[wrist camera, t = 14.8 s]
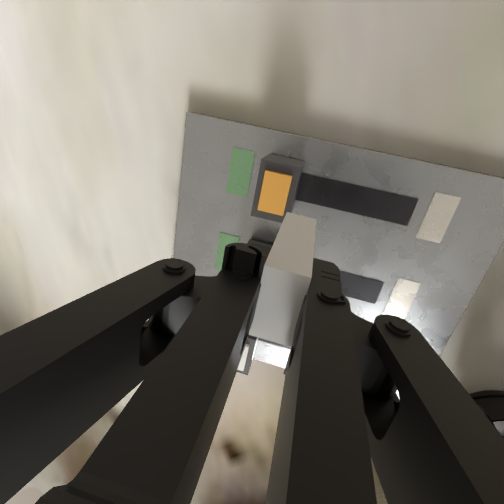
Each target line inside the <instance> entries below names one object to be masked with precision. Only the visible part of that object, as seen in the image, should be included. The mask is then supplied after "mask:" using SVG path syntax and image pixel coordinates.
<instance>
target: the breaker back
mask: <svg viewBox="0 0 504 504" xmlns="http://www.w3.org/2000/svg"><path fill="white" fill-rule="evenodd" d="M249 331H250V330H249ZM257 341H258V337H255V336H252V335H249V334H248V338H247V343H246V346H245V349H244V352H243V355H242V357H241V360H240V363H239V366H238V369H237V372H239V373H242V374H246V375H248V373H249V369H250V366H251V363H252V359H253V356H254V353H255V349H256V345H257Z"/></svg>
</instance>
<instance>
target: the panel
mask: <svg viewBox="0 0 504 504" xmlns="http://www.w3.org/2000/svg"><path fill="white" fill-rule="evenodd" d="M268 154H275V155H279V156H284V157H288V158H293V159H297V160H302V161H305V162H304V167H303V171H302V175H301V179H300V183H299V187H298V191H297V195H296V199H295V203H294V207H293V211H292V213H293V214H297V215H302V216H306V217H310V218H314V219H316V231H315V243H314V255H313V258H317V259H320V260H324V261H328V262H332V263H335V265H336V266H337V267H338V268H339V269H340V277H341V287H342V294H343V295H344V296H345V297H346V298H347V299H348V301H349V303H350V308H351V312H353V313H354V314H355V315H357V316H359V317H361V318H363V319H365V320H367V321H370V322H372V323H373V322H374V320H375V318H376V316H378V315H381V314H382V315H392V316H397V317H400V318H401V319H405V320H406V321H407V322H409V323H410V324H412V325H413V326H415V327H416V328H417V329H418V330H419V331H420V333H421V334H422V335H423V336H424V338H425V339H426V340H427V341H428V343H429V344H430V345H431V347H432V348H433V349H434V350H435V352H436V353H437V354H438V355H439V356H440V354H441V352H442V350H443V349H444V347H445V345H446V343H447V341H448V340H449V338H450V336H451V334H452V332H453V331H454V329H455V327H456V325H457V324H458V322H459V320H460V318H461V316H462V315H463V313H464V311H465V309H466V308H467V306H468V304H469V302H470V300H471V299H472V297H473V295H474V293H475V291H476V290H477V288H478V286H479V284H480V283H481V281H482V279H483V277H484V275H485V274H486V272H487V270H488V268H489V267H490V265H491V263H492V261H493V259H494V258H495V256H496V254H497V252H498V250H499V249H500V247H501V245H502V243H503V242H504V178H502V177H497V176H492V175H487V174H483V173H478V172H473V171H468V170H464V169H459V168H454V167H449V166H445V165H440V164H435V163H430V162H426V161H421V160H416V159H411V158H407V157H402V156H397V155H392V154H388V153H383V152H378V151H373V150H369V149H364V148H359V147H354V146H350V145H345V144H340V143H335V142H331V141H326V140H321V139H316V138H311V137H307V136H302V135H297V134H292V133H288V132H283V131H278V130H273V129H269V128H264V127H259V126H254V125H250V124H245V123H240V122H235V121H231V120H226V119H221V118H216V117H212V116H207V115H202V114H197V113H192V112H187V113H186V124H185V135H184V147H183V158H182V169H181V180H180V191H179V202H178V214H177V225H176V236H175V247H174V258H176V259H181V260H184V261H187V262H189V263H191V264H192V265H193V266H194V267H195V268H196V270H195V275H197V276H217V275H218V273H219V272H220V271H221V269H222V263H223V257H224V251H225V246H226V245H228V244H231V243H246V244H247V242H248V241H249V239H251V240H255V241H259V242H263V243H267V244H271V245H273V244H274V241H275V239H276V237H277V234H278V232H279V230H280V227H281V225H282V223H279V222H275V221H271V220H266V219H262V218H258V217H254V216H250V215H251V210H252V205H253V200H254V194H255V189H256V184H257V179H258V174H259V168H260V163H261V159H262V158H263V157H265V156H266V155H268ZM292 343H293V341H292ZM291 347H292V345H291ZM291 347H289V346H286V345H282V344H279V343H276V342H272V341H269V340H265V339H262V338H259V337H258V341H257V345H256V349H255V353H254V356H253V359H255V360H259V361H262V362H265V363H269V364H272V365H276V366H279V367H282V368H285V367H286V363H287V360H288V357H289V353H290V350H291ZM396 394H397V395H398V397H399V392H398V390H397V391H396ZM399 399H400V398H399Z"/></svg>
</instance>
